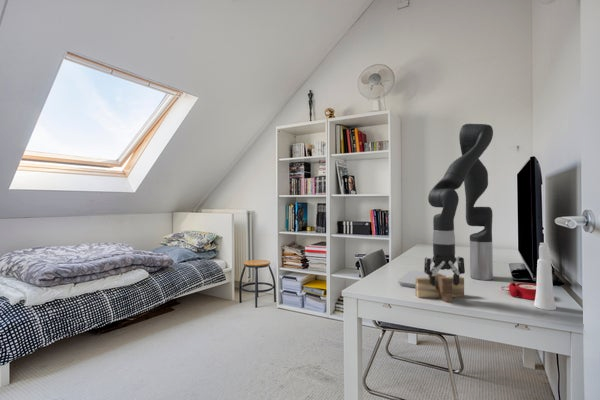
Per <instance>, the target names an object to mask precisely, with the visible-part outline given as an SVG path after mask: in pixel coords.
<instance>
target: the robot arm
mask: <svg viewBox="0 0 600 400" xmlns="http://www.w3.org/2000/svg"><path fill="white" fill-rule="evenodd" d="M458 137H459V138H458V139H459V146H460V151H461V156H460V157H458V158H456V159H455V160H454V161H453V162H451V164H450V165H449V166H448V168H447V170H446V172H445V173H444V175H443V176H442V178H441V179H440V180H439V181H437V183H436V184H435V185H434V186H433V187H432V189H431V190H430V191H429V193H428V197H427V199H428V203H429V205H430V206H431V207H433V208H442V210H441V212H440V213H438V214H435V215H434V216H433V221H432V227H433V228H432V229H433V232H432V233H433V234H432V254H433V257H431V258H429V257H427V256H426V257H424V265H423V267H424V270H423V271H424V272H425V273H426V274H428V275H429V276H430V284H431V285H432V286H436V283H435V274H436V273H437V272H438V273H439V271H440V270H442V271H444V270H447V271H449V270H451V271H452V273H453V276H452V277H453V284H454V285H458V284H459V277H460V276H461V275H462V274H463V275H464V274H465V272H466V270H465V269H466V268H465V259H464V257H461V256H457V257H456V256H455V255H456V237H455V235H456V234H455V223H454V222H455V216H456V212H457V209H458V206H459V199H460V198H459V194H458V192H457V191H456V190H458V189H459V188H461V187H462V185H464V193H465V222H466V224H467V225H468V226H469V227H470V226H471V227H484V228H483V229H482V230H480V231H478V232H475V233H471V234H470V235H469V276H470V278H471V279H476V280H481V281H492V280H494V264H493V263H494V261H493V257H494V255H493V209H492V208H491V207H490V206H475V204H476V202H478V201H477V200H479V199H480V197H481V196H482V195H483V194H484V193H485V191H486V190H487V188H488V187H489V173H488V170H487V168H486V166H485V164H484V163H483V162H482V161H481V159H480V157H481V156H482V155H483V154H484V152H485V151H486V150H487V149H488V147H489V146H490V144H491V142H492V140H493V137H494V129H493V127H492V125H490V124H486V123H485V124H484V123H465V124H463V125H462V126H461V128H460V129H459V136H458ZM463 183H464V184H463ZM432 263H433V265H432ZM455 263H457V267H456V266H455ZM431 265H432V266H431Z"/></svg>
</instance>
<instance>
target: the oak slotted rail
mask: <svg viewBox="0 0 600 400" xmlns="http://www.w3.org/2000/svg"><path fill="white" fill-rule="evenodd" d="M446 277H447V278H449V279H451V280H452V298H453V297H454V298H455V297H465V277H463V276H461V275H459V284H458V285H454V284H453V276H446ZM435 283H436V279H435ZM415 287H416V288H415V296H416V297H417V298H418V299H420V298H423V299H424V298H439V290H438V289H437V288H436V286H432V285H431V284H430V277H426V278H415Z"/></svg>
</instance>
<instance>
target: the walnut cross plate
mask: <svg viewBox="0 0 600 400" xmlns="http://www.w3.org/2000/svg"><path fill="white" fill-rule="evenodd" d="M439 273H440V272H438V273H436V274H435V279H436V288H437V289H438V290H439V297H438V299H441V301H443V302H445V303H451V302H453V297H452V280H451V279H449V278H447V277H448V276H443V275H441V274H439ZM428 277H430V276H429V275H428Z"/></svg>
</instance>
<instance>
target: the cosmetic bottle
mask: <svg viewBox="0 0 600 400" xmlns="http://www.w3.org/2000/svg"><path fill="white" fill-rule="evenodd" d="M536 263H537V264H536V266H537V267H536V284H537V285H536V296H535V300H534V304H533V306H534V307H535V308H538V309H541V310H546V311H555V310H557V306H556V301H555V295H554V286H553V271H552V260H550V246H549V243H548V242H539V246H538V259H537V262H536Z"/></svg>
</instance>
